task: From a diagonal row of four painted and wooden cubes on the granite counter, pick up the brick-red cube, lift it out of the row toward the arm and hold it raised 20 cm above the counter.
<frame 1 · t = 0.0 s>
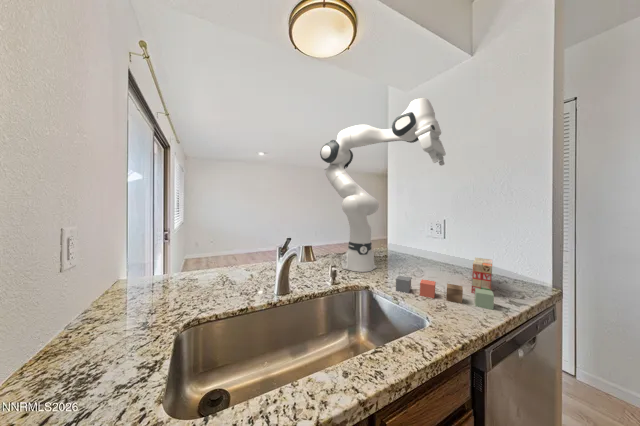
hand: (439, 163, 99), 52 cm above the countertop, tool tilted 20°, fingers open, 8 cm apart
walnut cube: (454, 300, 88), on the countertop
charcoal cube: (403, 290, 97), on the countertop
cardboard box: (482, 287, 102), on the countertop
sage cube: (483, 305, 84), on the countertop
red cube: (427, 294, 92), on the countertop
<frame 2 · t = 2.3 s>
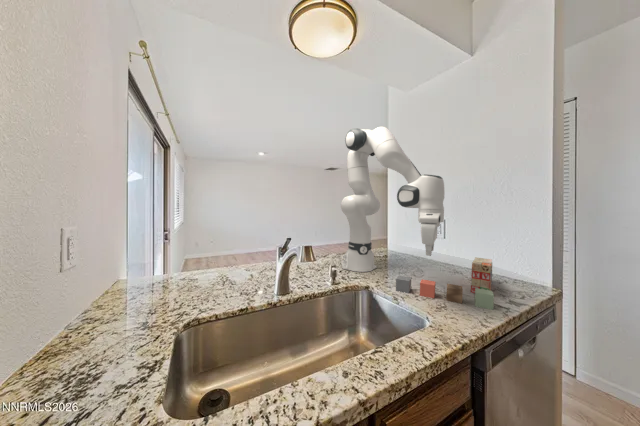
hand: (429, 253, 91), 16 cm above the countertop, tool pointing down, fingers open, 8 cm apart
nothing on the countertop moved.
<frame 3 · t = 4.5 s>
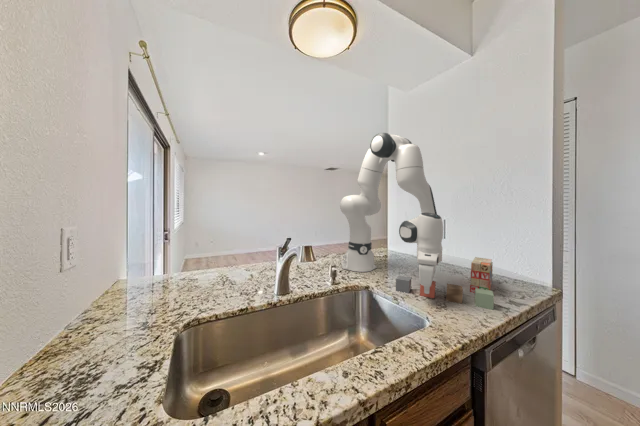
hand: (427, 290, 92), 2 cm above the countertop, tool pointing down, fingers closed on red cube, 5 cm apart
red cube: (427, 294, 92), on the countertop, touching gripper
everything else where it was.
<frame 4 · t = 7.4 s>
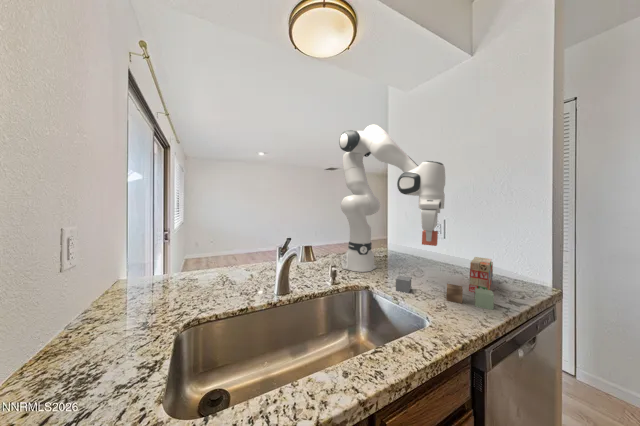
hand: (429, 239, 91), 21 cm above the countertop, tool pointing down, fingers closed on red cube, 5 cm apart
red cube: (429, 244, 91), point 20 cm above the countertop, touching gripper
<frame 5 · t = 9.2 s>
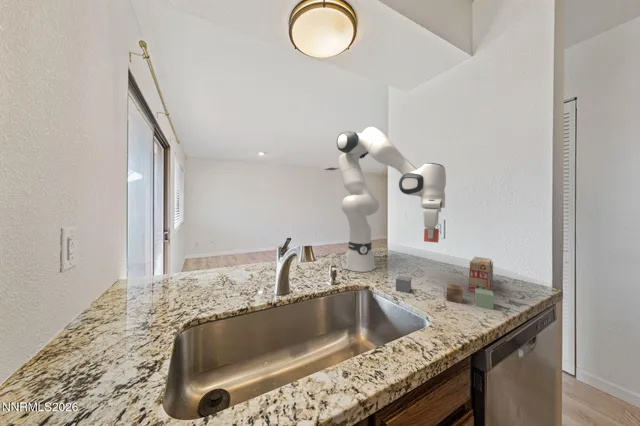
hand: (431, 237, 97), 22 cm above the countertop, tool pointing down, fingers closed on red cube, 5 cm apart
red cube: (431, 241, 97), point 20 cm above the countertop, touching gripper
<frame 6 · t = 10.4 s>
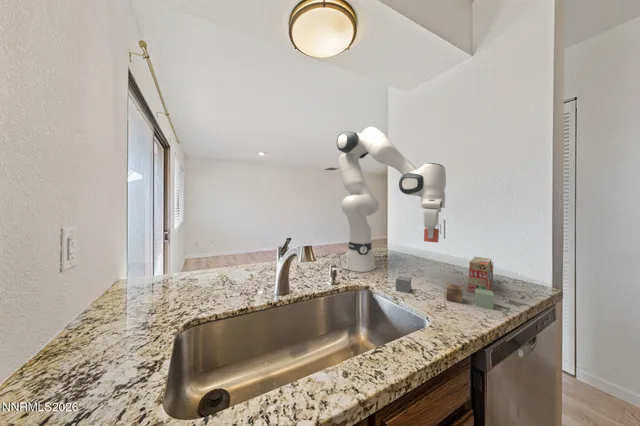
hand: (431, 237, 97), 22 cm above the countertop, tool pointing down, fingers closed on red cube, 5 cm apart
red cube: (431, 241, 97), point 20 cm above the countertop, touching gripper
at the end: red cube point 20.0 cm above the countertop; charcoal cube moved 0.1 cm from its start; walnut cube moved 0.1 cm from its start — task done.
